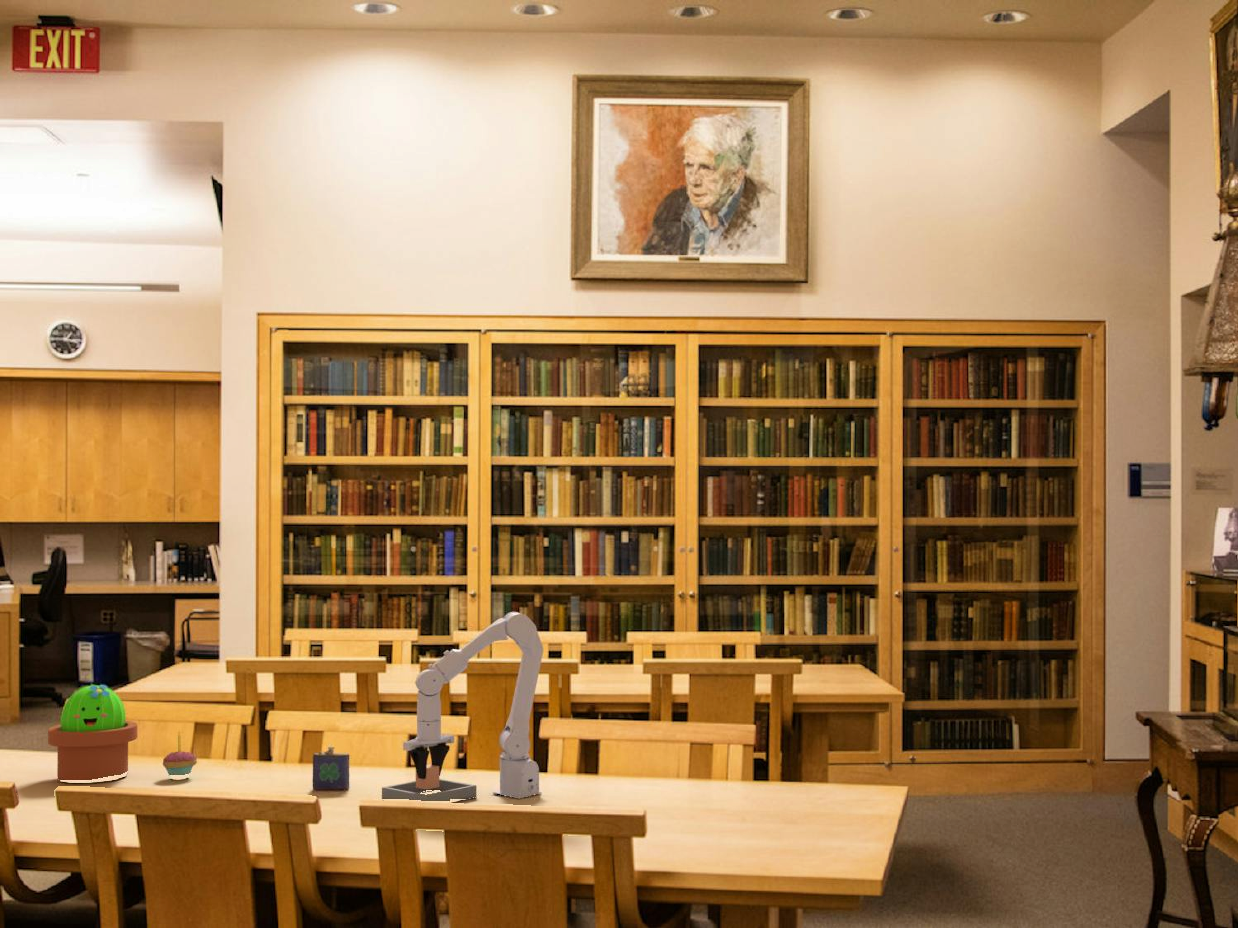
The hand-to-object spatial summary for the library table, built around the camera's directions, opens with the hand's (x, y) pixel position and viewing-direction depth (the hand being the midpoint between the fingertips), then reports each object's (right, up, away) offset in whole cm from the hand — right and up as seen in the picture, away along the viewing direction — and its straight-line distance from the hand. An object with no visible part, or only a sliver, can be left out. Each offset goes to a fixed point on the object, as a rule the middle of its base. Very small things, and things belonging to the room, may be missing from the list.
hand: (429, 776), depth 331 cm
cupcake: (-69, -7, +28) cm, 75 cm away
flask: (-26, -6, +12) cm, 30 cm away
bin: (0, -5, 0) cm, 5 cm away
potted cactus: (-93, -8, +30) cm, 98 cm away
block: (0, -3, 0) cm, 3 cm away
